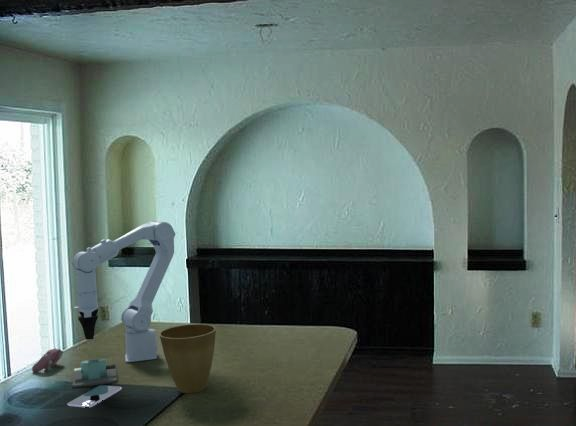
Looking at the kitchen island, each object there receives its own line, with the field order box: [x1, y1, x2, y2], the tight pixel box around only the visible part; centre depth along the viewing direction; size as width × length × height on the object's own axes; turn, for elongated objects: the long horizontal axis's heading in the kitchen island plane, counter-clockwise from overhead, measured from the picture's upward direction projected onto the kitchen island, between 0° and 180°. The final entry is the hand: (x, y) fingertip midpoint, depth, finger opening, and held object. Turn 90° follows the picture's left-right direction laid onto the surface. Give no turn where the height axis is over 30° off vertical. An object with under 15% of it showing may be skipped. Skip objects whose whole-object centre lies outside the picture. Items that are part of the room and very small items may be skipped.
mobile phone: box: [66, 384, 123, 408], centre depth 175 cm, size 8×1×15 cm
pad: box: [71, 368, 118, 389], centre depth 190 cm, size 12×12×1 cm
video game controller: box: [31, 347, 64, 373], centre depth 203 cm, size 10×5×7 cm, turn 169°
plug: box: [73, 358, 117, 380], centre depth 190 cm, size 11×4×4 cm, turn 106°
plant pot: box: [159, 323, 217, 394], centre depth 177 cm, size 15×15×16 cm
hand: (89, 336), depth 200 cm, fingers open, 7 cm apart
